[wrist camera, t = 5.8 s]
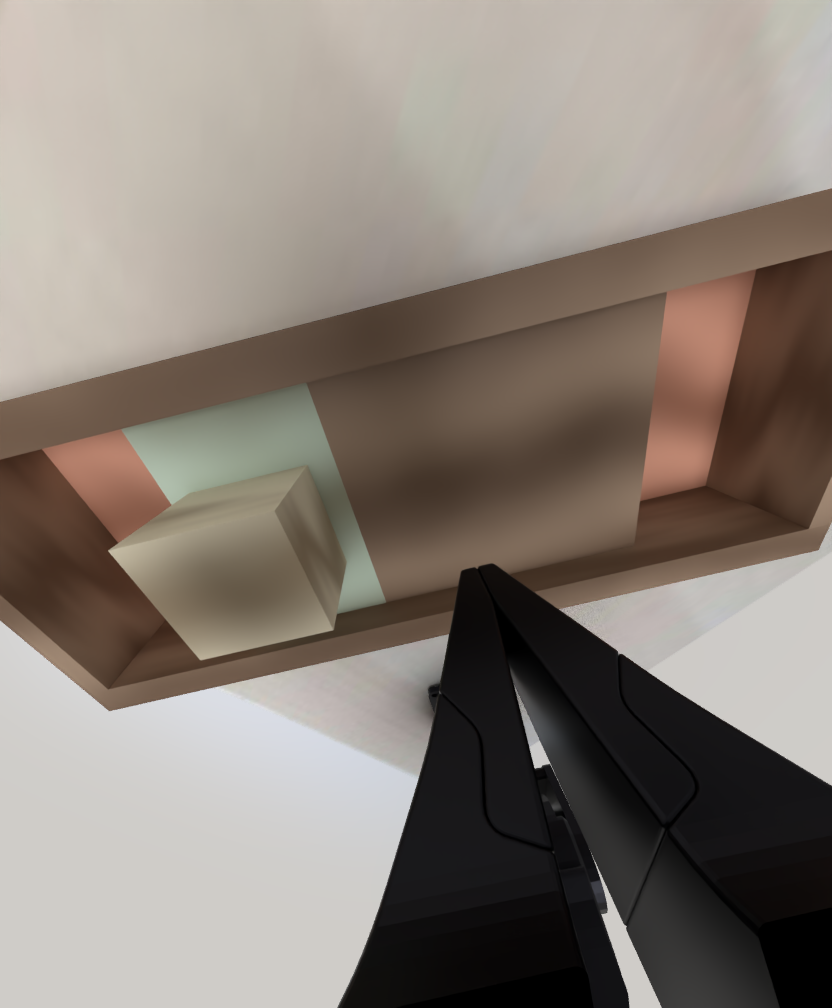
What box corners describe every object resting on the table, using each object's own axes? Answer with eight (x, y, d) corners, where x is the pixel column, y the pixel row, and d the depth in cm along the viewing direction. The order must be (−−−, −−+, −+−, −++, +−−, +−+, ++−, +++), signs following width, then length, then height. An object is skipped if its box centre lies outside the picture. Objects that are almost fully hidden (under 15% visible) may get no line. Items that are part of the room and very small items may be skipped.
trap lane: (710, 500, 20) (818, 550, 15) (175, 625, 20) (109, 711, 16) (780, 219, 13) (1011, 142, 8) (2, 418, 14) (-201, 453, 9)
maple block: (346, 561, 15) (333, 630, 11) (246, 585, 15) (200, 660, 11) (307, 464, 12) (274, 511, 9) (188, 493, 12) (107, 550, 9)
